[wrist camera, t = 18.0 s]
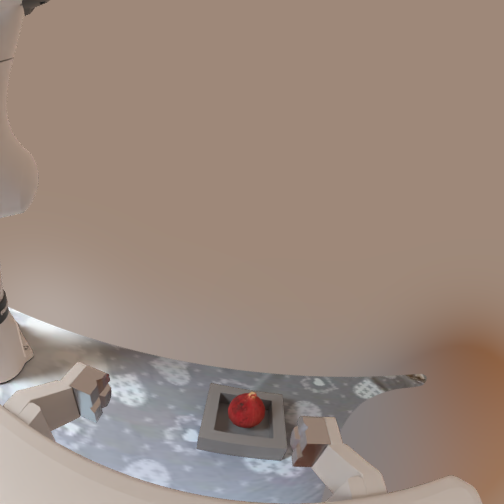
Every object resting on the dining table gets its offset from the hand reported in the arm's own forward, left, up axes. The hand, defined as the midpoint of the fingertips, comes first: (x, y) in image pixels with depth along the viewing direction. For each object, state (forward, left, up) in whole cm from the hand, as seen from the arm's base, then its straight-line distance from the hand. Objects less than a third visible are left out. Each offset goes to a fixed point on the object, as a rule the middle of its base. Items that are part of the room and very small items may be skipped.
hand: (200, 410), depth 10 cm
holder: (-10, +22, -29) cm, 37 cm away
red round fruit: (-10, +22, -28) cm, 37 cm away
